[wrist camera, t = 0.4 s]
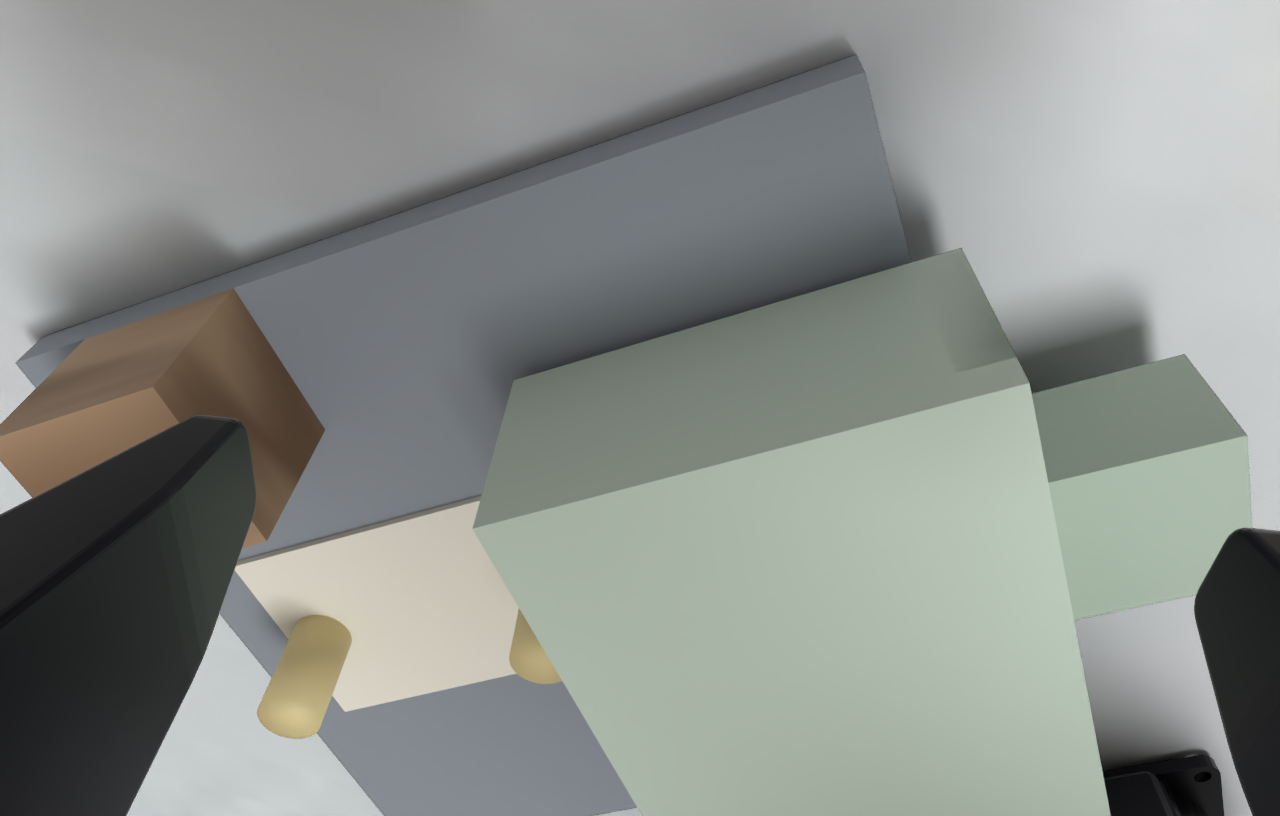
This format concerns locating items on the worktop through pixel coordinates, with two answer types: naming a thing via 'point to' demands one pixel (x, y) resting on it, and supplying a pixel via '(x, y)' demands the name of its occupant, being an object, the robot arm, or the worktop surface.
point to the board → (474, 409)
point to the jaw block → (167, 401)
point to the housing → (851, 549)
